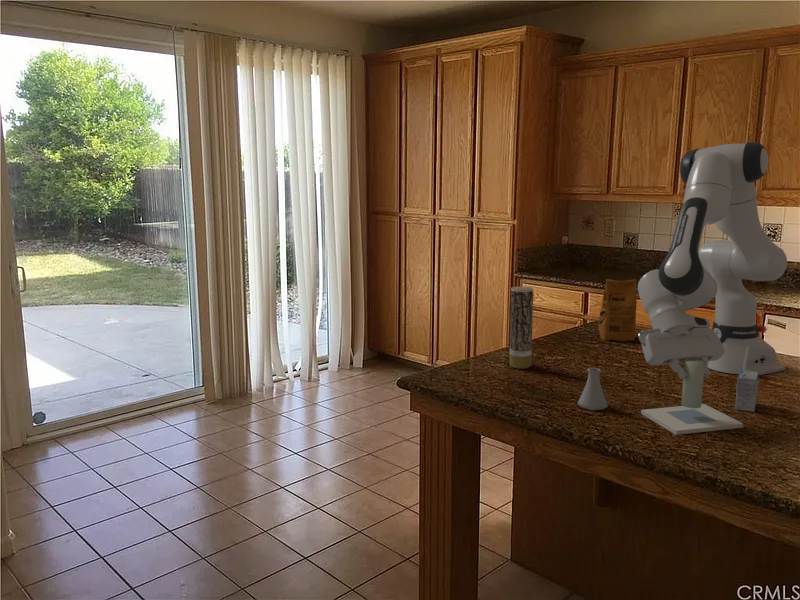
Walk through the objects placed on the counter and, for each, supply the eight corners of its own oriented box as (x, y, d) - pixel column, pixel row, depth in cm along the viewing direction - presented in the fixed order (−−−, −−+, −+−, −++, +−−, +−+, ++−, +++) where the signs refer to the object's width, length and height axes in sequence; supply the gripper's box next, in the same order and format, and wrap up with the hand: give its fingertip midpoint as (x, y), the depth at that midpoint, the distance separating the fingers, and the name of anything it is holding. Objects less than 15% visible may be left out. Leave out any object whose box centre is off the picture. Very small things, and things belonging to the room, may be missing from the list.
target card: (703, 407, 168) (703, 403, 167) (742, 427, 154) (743, 423, 154) (641, 413, 164) (641, 409, 163) (675, 434, 150) (676, 430, 150)
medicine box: (754, 412, 164) (757, 379, 162) (734, 409, 166) (737, 377, 164) (756, 403, 170) (759, 371, 168) (737, 400, 172) (740, 369, 171)
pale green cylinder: (693, 401, 161) (696, 358, 159) (705, 407, 156) (708, 363, 154) (677, 402, 160) (680, 359, 158) (689, 409, 155) (692, 364, 153)
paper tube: (531, 370, 201) (533, 290, 196) (508, 368, 202) (510, 290, 198) (531, 363, 208) (533, 286, 203) (509, 362, 209) (511, 286, 204)
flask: (592, 413, 165) (593, 375, 163) (572, 404, 171) (573, 367, 169) (613, 408, 168) (615, 371, 166) (592, 399, 174) (594, 363, 172)
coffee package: (597, 334, 244) (600, 276, 240) (631, 335, 242) (635, 277, 238) (600, 341, 234) (603, 281, 230) (636, 342, 232) (640, 281, 228)
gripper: (641, 323, 159) (663, 373, 151) (714, 319, 163) (738, 367, 156) (630, 337, 164) (650, 386, 156) (701, 332, 168) (724, 379, 161)
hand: (695, 376), depth 156 cm, fingers closed on pale green cylinder, 4 cm apart
